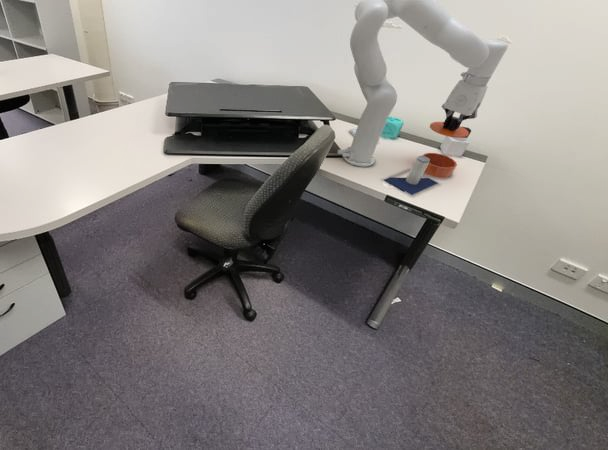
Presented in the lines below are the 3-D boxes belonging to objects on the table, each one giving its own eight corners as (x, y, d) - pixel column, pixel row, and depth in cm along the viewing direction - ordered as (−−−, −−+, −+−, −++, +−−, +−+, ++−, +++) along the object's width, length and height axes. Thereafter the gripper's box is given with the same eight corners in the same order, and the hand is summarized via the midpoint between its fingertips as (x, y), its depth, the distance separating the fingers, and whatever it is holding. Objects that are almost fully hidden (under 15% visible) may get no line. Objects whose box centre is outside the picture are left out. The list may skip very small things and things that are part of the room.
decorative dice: (393, 141, 156) (400, 125, 151) (376, 135, 160) (382, 120, 155) (398, 135, 161) (405, 119, 156) (381, 130, 165) (388, 115, 160)
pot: (426, 178, 132) (432, 168, 129) (412, 162, 141) (417, 152, 138) (456, 179, 132) (463, 168, 129) (440, 163, 141) (446, 153, 138)
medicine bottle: (461, 157, 146) (476, 132, 138) (444, 155, 147) (458, 130, 139) (455, 149, 151) (469, 125, 143) (438, 148, 152) (452, 123, 144)
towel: (411, 195, 122) (411, 195, 122) (384, 180, 130) (384, 179, 130) (437, 183, 129) (438, 183, 129) (410, 169, 137) (410, 168, 136)
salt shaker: (408, 184, 127) (420, 161, 121) (403, 178, 131) (414, 155, 124) (420, 184, 127) (433, 161, 121) (414, 178, 131) (426, 155, 124)
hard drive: (350, 128, 162) (362, 140, 153) (365, 128, 163) (378, 139, 154) (349, 131, 163) (361, 143, 154) (364, 131, 164) (377, 142, 155)
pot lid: (440, 138, 124) (447, 125, 120) (422, 123, 134) (428, 110, 130) (474, 139, 124) (483, 125, 121) (454, 124, 134) (461, 111, 131)
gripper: (447, 74, 120) (424, 122, 132) (494, 88, 110) (464, 138, 122) (458, 72, 123) (435, 119, 135) (505, 84, 113) (475, 134, 125)
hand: (449, 128), depth 128 cm, fingers closed on pot lid, 2 cm apart
